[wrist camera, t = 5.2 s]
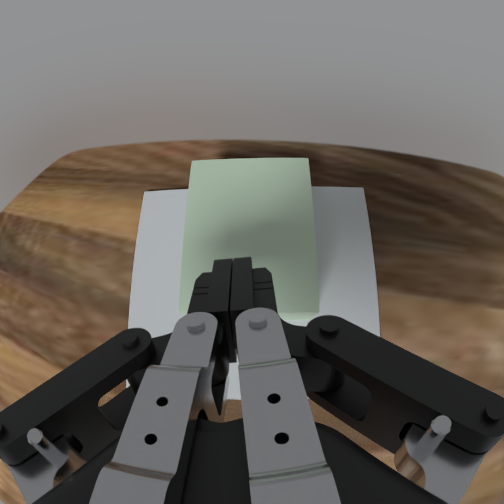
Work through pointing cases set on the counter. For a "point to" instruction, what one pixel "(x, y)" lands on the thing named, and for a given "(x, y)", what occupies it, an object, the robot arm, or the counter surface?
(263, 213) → the block
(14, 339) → the counter surface
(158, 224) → the mat
